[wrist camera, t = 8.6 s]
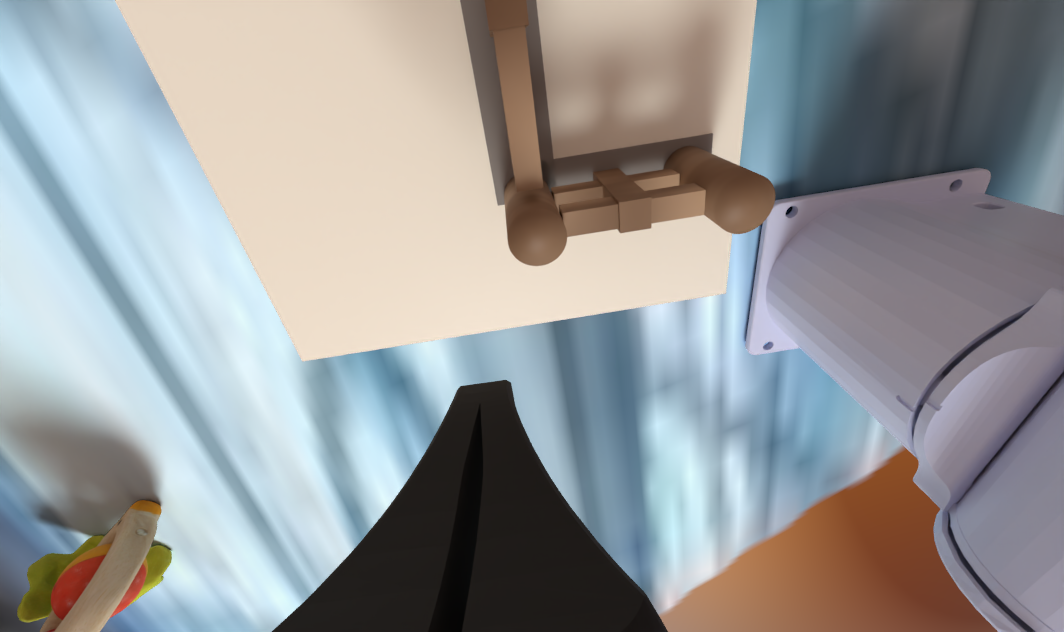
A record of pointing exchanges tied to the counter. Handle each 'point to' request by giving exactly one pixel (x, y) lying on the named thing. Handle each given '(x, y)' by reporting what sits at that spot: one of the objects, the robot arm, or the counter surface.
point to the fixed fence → (635, 203)
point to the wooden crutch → (516, 88)
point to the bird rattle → (97, 575)
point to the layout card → (444, 152)
